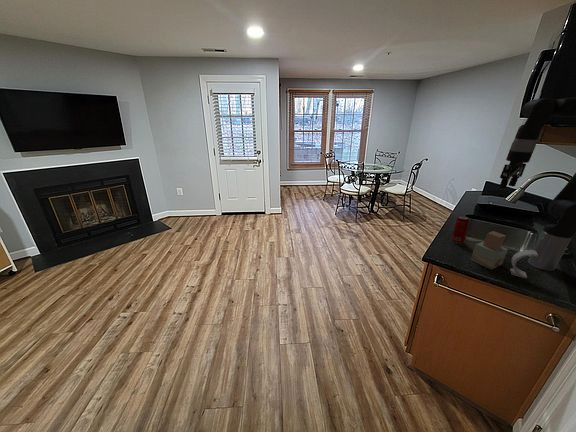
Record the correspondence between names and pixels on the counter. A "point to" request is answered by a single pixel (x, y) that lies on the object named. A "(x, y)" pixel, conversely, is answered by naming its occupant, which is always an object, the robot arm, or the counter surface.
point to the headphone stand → (518, 256)
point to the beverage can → (460, 229)
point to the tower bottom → (486, 261)
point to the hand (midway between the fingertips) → (506, 186)
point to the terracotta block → (494, 240)
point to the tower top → (490, 252)
